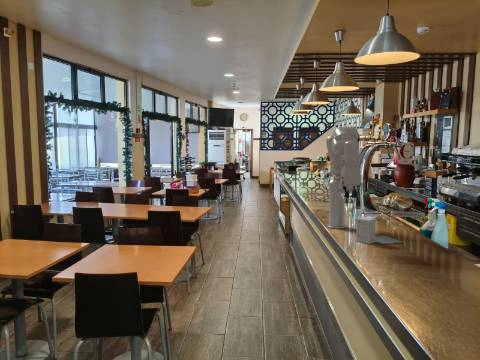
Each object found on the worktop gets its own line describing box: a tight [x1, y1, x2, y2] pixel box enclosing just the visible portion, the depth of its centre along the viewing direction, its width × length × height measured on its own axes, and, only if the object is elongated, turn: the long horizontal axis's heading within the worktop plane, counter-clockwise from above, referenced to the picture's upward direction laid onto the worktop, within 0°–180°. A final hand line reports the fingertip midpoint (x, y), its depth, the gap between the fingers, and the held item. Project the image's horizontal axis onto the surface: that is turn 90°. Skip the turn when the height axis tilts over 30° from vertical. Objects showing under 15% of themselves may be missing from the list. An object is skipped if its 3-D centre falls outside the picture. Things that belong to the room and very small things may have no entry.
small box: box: [355, 216, 376, 245], centre depth 206 cm, size 8×6×13 cm
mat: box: [375, 235, 404, 245], centre depth 210 cm, size 16×13×1 cm
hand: (350, 197), depth 202 cm, fingers open, 3 cm apart
